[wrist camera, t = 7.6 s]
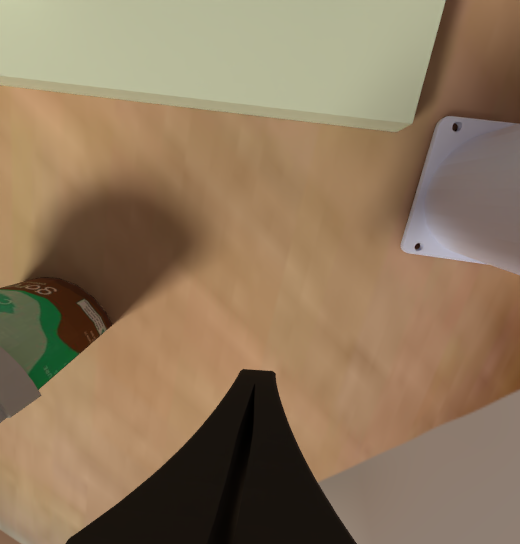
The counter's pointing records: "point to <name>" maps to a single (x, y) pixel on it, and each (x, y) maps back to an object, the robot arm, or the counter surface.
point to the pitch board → (230, 54)
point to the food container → (42, 336)
